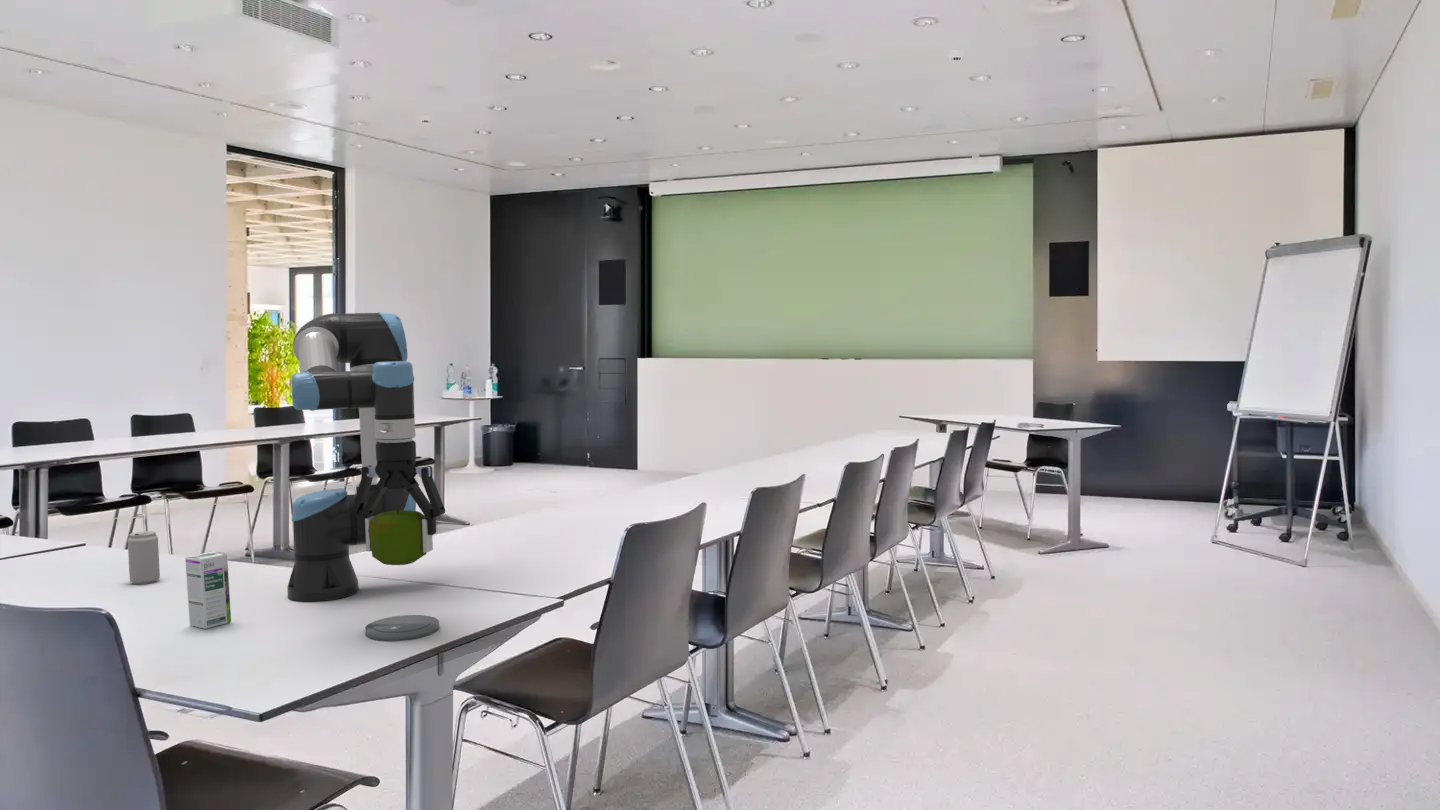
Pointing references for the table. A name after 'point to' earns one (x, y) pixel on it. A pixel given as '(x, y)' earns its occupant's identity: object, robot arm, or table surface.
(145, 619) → the table surface
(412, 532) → the apple
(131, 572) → the beverage can
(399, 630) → the slate plate
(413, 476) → the robot arm
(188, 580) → the syrup box
